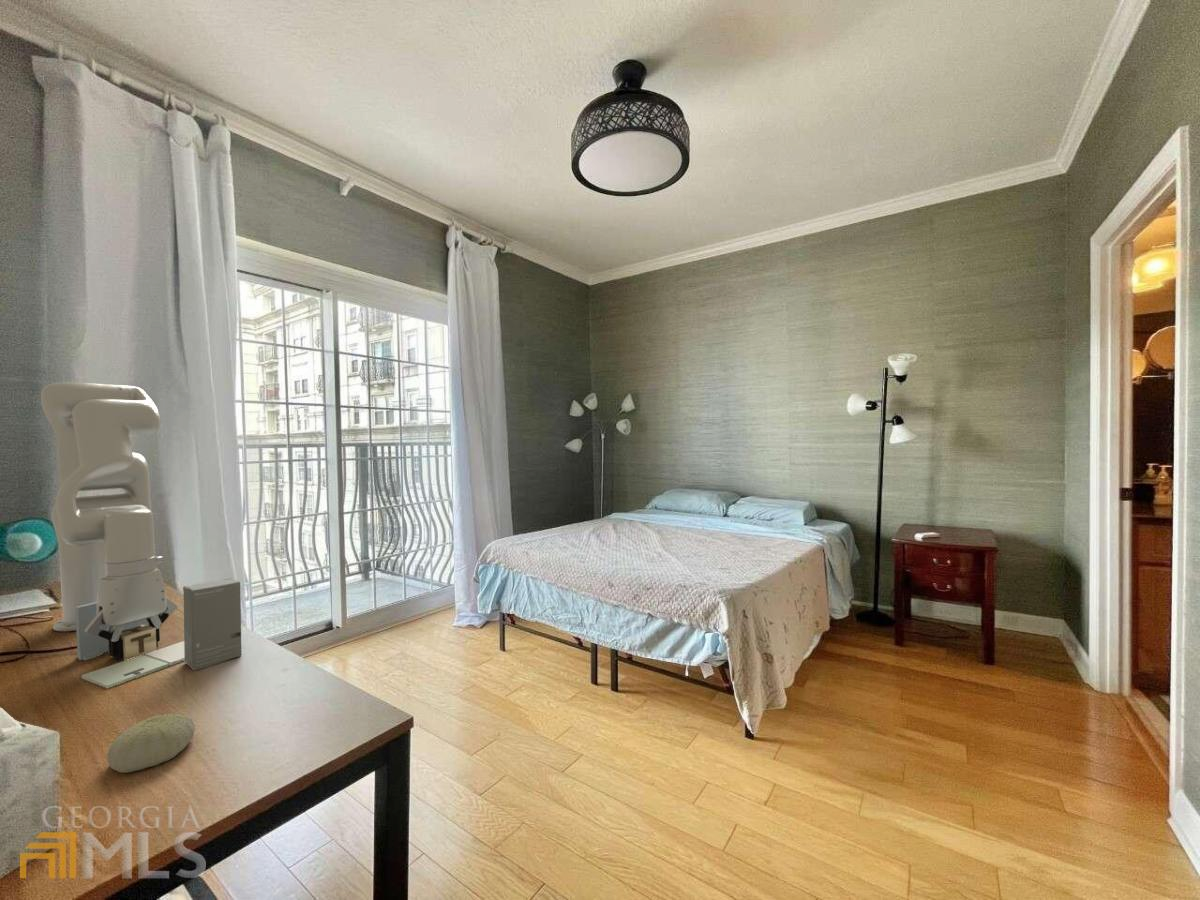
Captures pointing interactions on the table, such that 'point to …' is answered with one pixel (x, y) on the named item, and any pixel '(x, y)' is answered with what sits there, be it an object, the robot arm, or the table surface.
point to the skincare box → (212, 622)
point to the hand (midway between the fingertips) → (135, 651)
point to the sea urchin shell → (150, 742)
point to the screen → (90, 643)
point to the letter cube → (138, 641)
